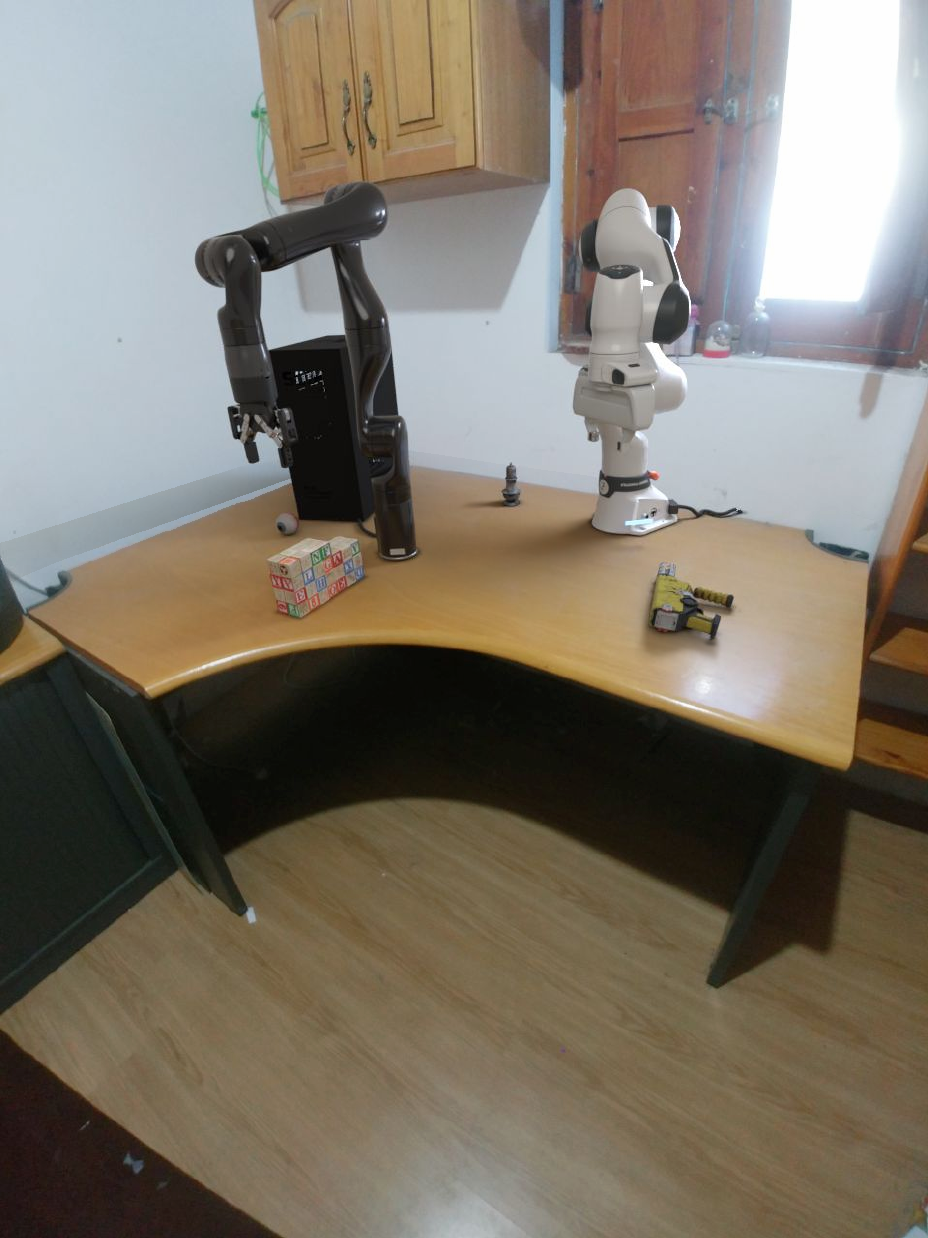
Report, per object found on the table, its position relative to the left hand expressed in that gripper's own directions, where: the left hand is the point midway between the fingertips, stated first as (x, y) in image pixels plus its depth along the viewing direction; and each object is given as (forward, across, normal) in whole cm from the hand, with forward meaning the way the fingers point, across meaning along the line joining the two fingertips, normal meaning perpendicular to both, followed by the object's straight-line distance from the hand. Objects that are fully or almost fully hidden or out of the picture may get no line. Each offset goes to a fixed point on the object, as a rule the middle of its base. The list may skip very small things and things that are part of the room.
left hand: (270, 464), depth 113 cm
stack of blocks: (+31, 0, +7) cm, 31 cm away
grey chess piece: (+31, +13, +76) cm, 82 cm away
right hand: (+1, +53, +36) cm, 64 cm away
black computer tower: (+31, -34, +61) cm, 76 cm away
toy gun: (+31, +73, +33) cm, 86 cm away
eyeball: (+31, -33, +30) cm, 54 cm away
